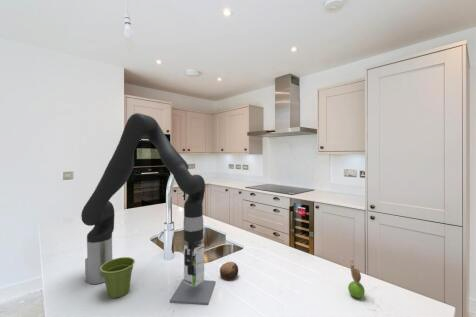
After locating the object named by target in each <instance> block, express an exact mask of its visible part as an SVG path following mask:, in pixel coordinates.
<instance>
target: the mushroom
mask: <svg viewBox="0 0 476 317" xmlns="http://www.w3.org/2000/svg"><path fill="white" fill-rule="evenodd" d="M238 274H239V266H238V265H237V263H236V262H235V261H228V262H224V264H222V265H221V266H220V268H219V275H220V276H221V277H222V278H223V279H224V280H227V281H231V280H234V279H235V278H237V276H238Z"/></svg>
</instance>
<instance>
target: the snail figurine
mask: <svg viewBox="0 0 476 317" xmlns="http://www.w3.org/2000/svg"><path fill="white" fill-rule="evenodd" d="M349 262H350V273H351V278H352V280H353V281H351V282H349V284H348V286H347V287H348V288H347V289H348V292H349V294H350V295H351V296H353V298H356V299H360V298H362V297H364V296H365V286H363V284H362V283H361V282H360V281H361V279H362V275H361V273H360V271H359V269H357V268H355V265H354V260H349Z"/></svg>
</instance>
